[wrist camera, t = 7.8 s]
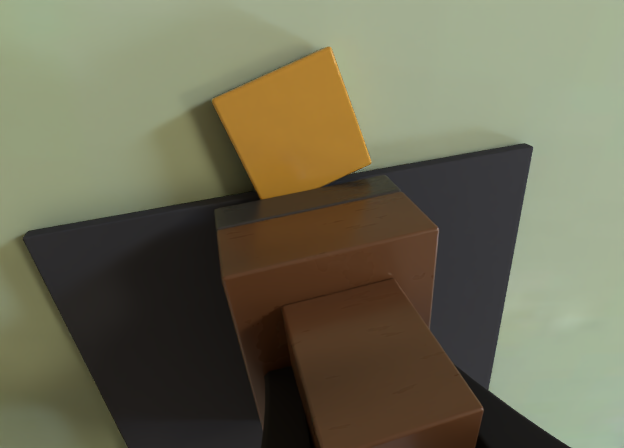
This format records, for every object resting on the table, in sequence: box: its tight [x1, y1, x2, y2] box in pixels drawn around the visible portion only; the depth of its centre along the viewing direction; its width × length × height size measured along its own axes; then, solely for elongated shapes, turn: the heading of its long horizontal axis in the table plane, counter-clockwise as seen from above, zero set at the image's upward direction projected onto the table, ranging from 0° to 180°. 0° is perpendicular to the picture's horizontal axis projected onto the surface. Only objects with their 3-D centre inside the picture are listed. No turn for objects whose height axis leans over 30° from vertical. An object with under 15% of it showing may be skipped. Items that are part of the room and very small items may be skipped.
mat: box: [23, 143, 533, 448], centre depth 15 cm, size 18×14×1 cm
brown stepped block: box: [214, 175, 484, 448], centre depth 10 cm, size 9×4×6 cm, turn 6°
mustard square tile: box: [212, 47, 371, 200], centre depth 10 cm, size 3×3×1 cm
